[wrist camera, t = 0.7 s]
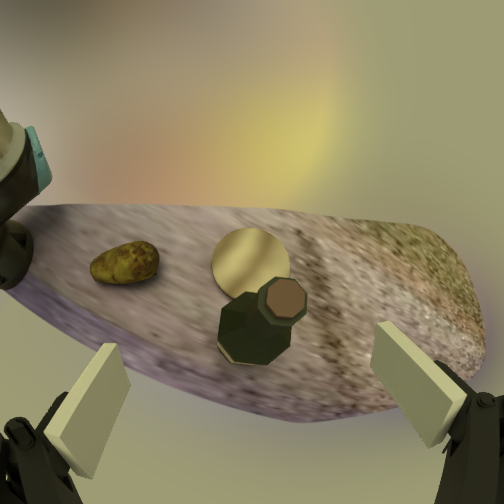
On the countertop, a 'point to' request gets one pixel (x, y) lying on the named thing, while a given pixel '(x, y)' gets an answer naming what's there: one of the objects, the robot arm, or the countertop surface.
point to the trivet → (248, 261)
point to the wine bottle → (261, 322)
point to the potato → (126, 263)
